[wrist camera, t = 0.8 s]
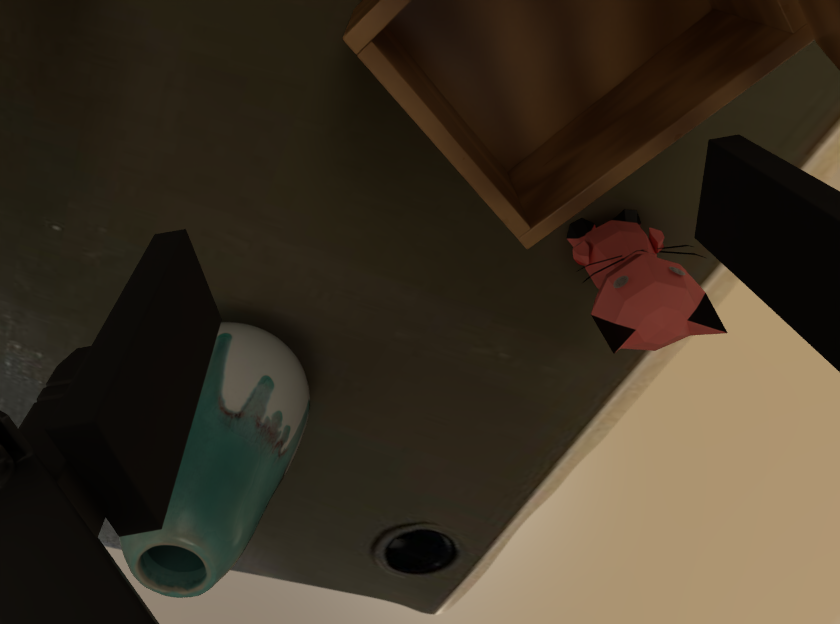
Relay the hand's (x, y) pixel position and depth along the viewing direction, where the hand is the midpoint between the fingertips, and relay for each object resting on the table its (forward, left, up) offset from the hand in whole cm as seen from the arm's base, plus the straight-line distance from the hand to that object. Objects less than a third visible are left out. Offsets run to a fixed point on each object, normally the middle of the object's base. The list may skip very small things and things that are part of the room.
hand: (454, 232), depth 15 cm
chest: (-3, +7, -23) cm, 24 cm away
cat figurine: (+11, +14, -23) cm, 29 cm away
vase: (+23, -12, -23) cm, 35 cm away
